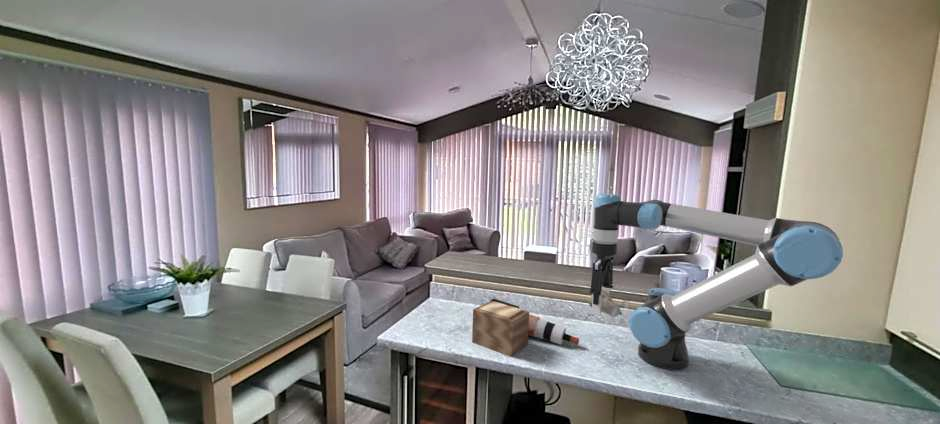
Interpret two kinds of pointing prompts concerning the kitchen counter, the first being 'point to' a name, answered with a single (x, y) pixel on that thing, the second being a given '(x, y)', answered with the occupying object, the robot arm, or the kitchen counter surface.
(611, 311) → the mug
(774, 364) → the kitchen counter surface
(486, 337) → the plate
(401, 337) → the kitchen counter surface
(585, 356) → the kitchen counter surface
